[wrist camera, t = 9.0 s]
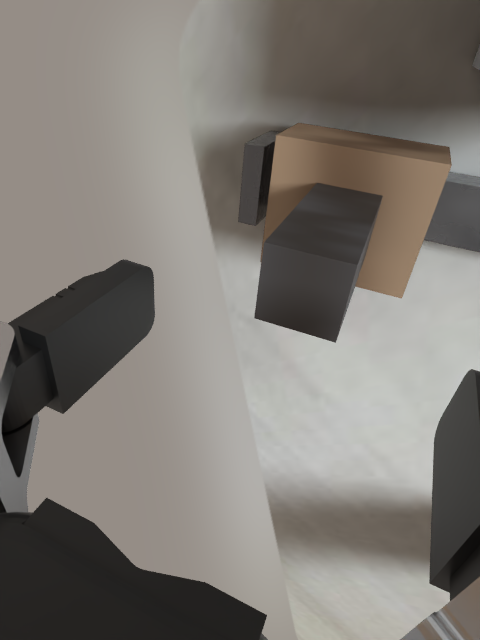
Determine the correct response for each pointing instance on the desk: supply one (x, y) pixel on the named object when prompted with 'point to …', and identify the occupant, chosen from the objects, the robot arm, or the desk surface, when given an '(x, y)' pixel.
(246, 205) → the rail
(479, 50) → the button housing
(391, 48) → the desk surface
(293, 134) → the carriage
